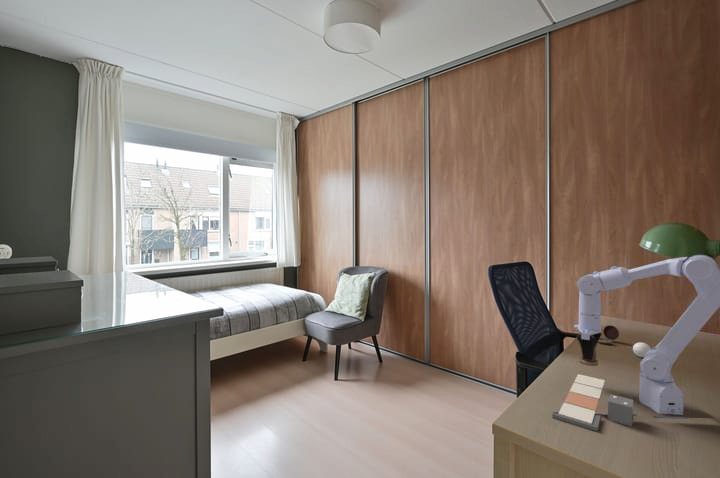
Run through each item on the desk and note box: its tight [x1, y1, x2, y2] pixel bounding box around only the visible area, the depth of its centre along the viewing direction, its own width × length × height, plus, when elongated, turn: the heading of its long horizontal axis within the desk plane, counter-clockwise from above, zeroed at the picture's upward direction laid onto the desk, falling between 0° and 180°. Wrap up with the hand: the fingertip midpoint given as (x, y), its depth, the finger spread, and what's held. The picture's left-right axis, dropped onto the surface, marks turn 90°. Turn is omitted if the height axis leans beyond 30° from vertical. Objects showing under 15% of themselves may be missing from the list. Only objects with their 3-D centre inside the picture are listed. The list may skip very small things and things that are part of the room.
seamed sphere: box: [628, 342, 652, 358], centre depth 136 cm, size 8×6×6 cm
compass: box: [597, 324, 620, 346], centre depth 151 cm, size 8×8×7 cm
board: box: [551, 374, 606, 432], centre depth 103 cm, size 33×10×1 cm, turn 140°
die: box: [607, 394, 634, 428], centre depth 92 cm, size 5×5×5 cm
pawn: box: [578, 335, 599, 367], centre depth 109 cm, size 5×5×9 cm
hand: (588, 356), depth 109 cm, fingers closed on pawn, 4 cm apart
